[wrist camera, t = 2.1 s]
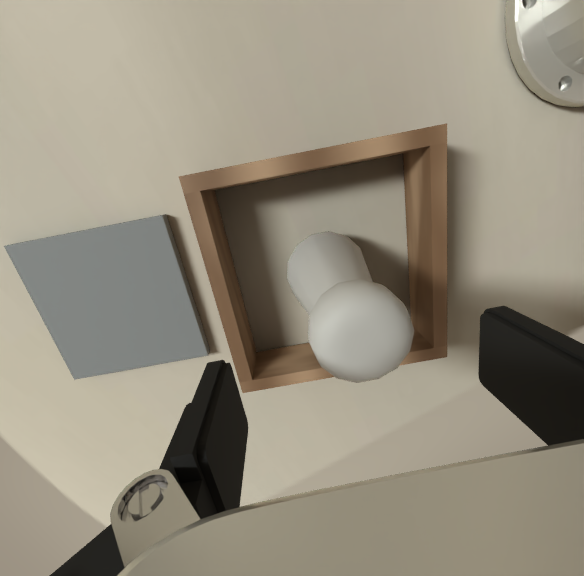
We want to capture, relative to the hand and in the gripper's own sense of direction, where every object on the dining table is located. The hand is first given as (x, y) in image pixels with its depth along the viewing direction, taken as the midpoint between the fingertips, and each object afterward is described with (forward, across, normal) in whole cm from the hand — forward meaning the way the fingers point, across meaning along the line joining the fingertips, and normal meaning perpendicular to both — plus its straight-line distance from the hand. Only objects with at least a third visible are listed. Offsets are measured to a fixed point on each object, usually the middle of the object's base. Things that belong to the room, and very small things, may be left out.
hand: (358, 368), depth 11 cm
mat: (+14, +16, -1) cm, 21 cm away
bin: (+14, -1, -1) cm, 14 cm away
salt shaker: (+14, -1, -1) cm, 14 cm away
